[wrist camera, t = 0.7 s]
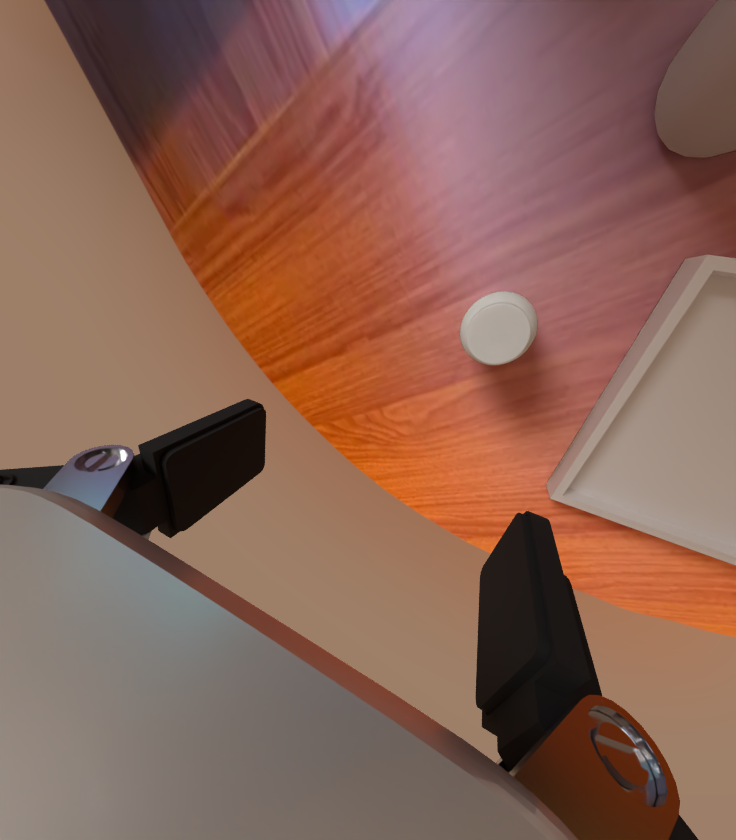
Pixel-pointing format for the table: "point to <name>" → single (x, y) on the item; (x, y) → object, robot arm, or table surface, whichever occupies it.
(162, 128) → the table surface
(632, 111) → the table surface
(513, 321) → the supplement bottle
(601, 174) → the table surface
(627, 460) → the tray
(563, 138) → the table surface
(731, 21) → the can
